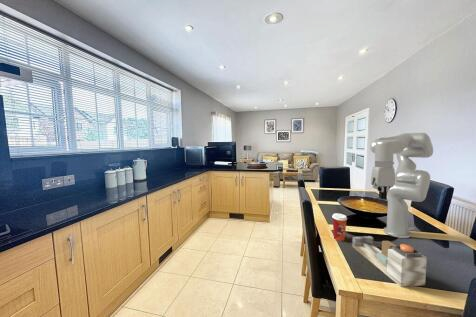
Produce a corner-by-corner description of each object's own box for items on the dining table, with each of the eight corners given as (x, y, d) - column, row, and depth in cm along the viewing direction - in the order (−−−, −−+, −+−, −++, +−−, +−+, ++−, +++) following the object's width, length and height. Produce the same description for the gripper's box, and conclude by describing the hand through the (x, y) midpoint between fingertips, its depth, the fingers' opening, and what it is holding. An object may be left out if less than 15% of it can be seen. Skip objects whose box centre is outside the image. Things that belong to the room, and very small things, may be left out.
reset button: (406, 249, 77) (406, 243, 77) (416, 255, 73) (416, 249, 73) (397, 249, 77) (397, 244, 77) (406, 255, 73) (406, 249, 73)
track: (370, 245, 101) (371, 222, 100) (425, 285, 73) (427, 253, 72) (352, 246, 101) (353, 223, 100) (400, 286, 72) (402, 254, 71)
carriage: (390, 259, 87) (391, 239, 86) (400, 266, 82) (401, 245, 81) (376, 259, 86) (377, 240, 86) (385, 267, 81) (386, 246, 81)
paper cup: (341, 243, 104) (341, 219, 103) (328, 237, 111) (329, 214, 110) (349, 239, 108) (350, 216, 107) (337, 234, 115) (337, 212, 114)
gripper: (390, 162, 101) (389, 195, 103) (364, 164, 100) (364, 197, 102) (404, 164, 94) (402, 200, 95) (376, 166, 92) (375, 202, 94)
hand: (382, 198), depth 99 cm, fingers closed
